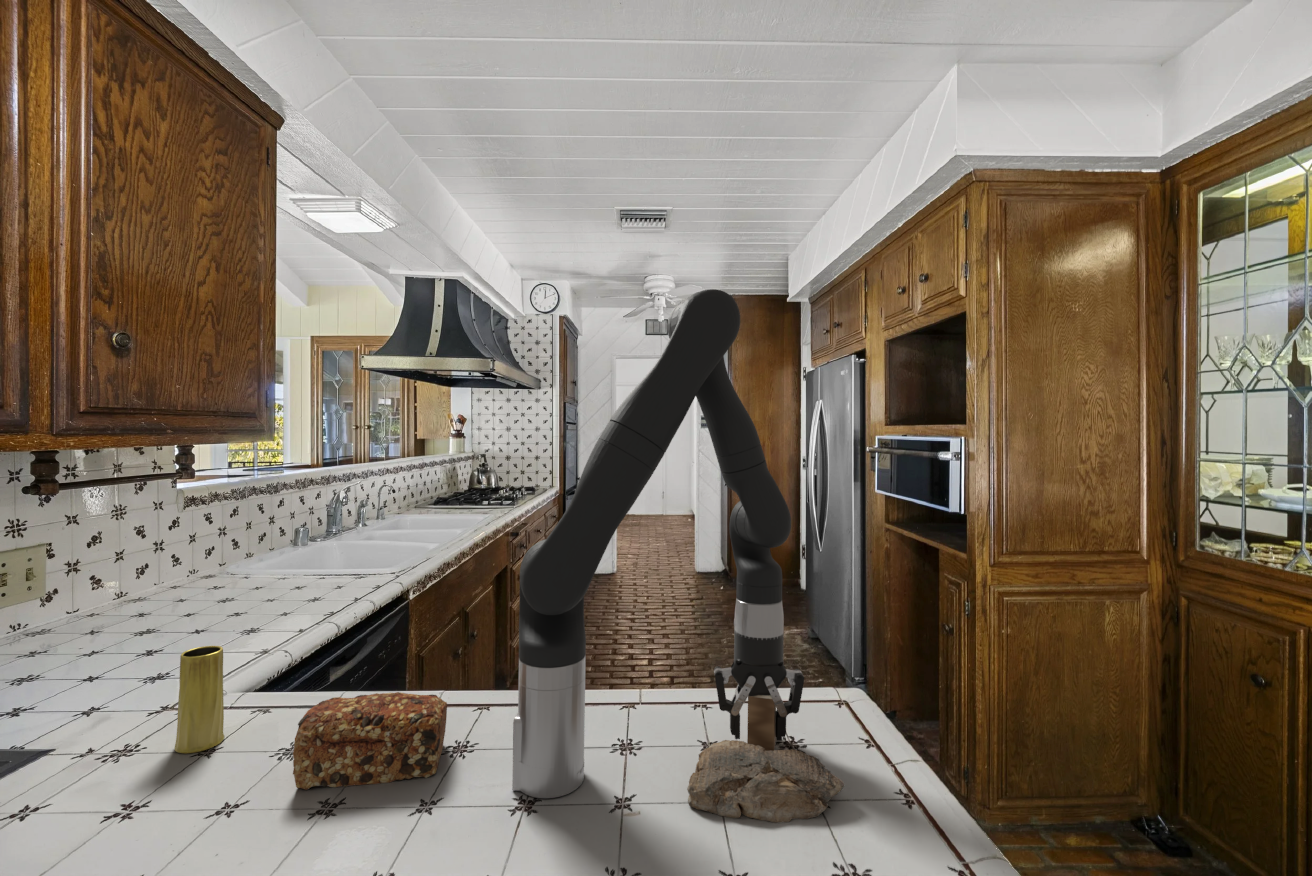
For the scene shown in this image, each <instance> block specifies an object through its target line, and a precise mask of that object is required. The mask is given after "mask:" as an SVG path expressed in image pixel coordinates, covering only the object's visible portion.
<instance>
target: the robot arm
mask: <svg viewBox="0 0 1312 876" xmlns="http://www.w3.org/2000/svg"><path fill="white" fill-rule="evenodd" d="M740 326H741V312H740V308H739V306H738V303H737V302H736V300H735V299H734V297H733V296H732V295H731V294H730V293H728V292H726V291H724V290H721V289H713V288H711V289H704V290H701V291H698V292H695V293H693V294H691V295H689V296H688V297H687V298H685V299H684V300H682V301H680V302H679V303H678V304H677V305H676V306H674V308H673V309H672V311H671V312H670V314H669V317H668V319H667V324H666V329H667V330H666V331H667V336H668V338H669V340H668V342H667V344H666V346H665V348H664V349H663V352H662V353H661V355H660V357H659V358H658V360H657V361H656V362H655V364H654V365H653V366H652V368H651V369H650V371H649V372H648V373H647V374H646V375H645V376H644V377H643V378H642V379H641V381H640V382H639V383H638V384H637V385H636V386H635V387H634V388H633V390H632V391H631V392H630V393H629V394H628V395H627V396H626V397H625V399H624V400H623V402H621V404H620V406H618V408H617V409H616V410H615V412H614V413H613V415H612V416H611V417H610V419H609V421H608V423H607V425H606V426H605V427H604V429H603V431H602V432H601V434H600V435H599V438H598V439H597V441H596V443H595V444H594V447H593V448H592V451H591V453H590V455H589V456H588V458H587V461H586V464H585V466H584V468H583V471H582V473H581V476H580V478H579V481H578V482H577V483H578V484H577V486H576V488H575V491H574V495H572V498H571V501H570V503H569V505H568V506H567V509H566V510H565V511H564V513H563V515H562V516H561V518H560V519H559V521H558V522H557V524H556V525H555V527H554V528H553V529H552V531H551V532H550V534H549V535H548V536H547V538H545V539H542V540H539V541H538V542H536V543H534V545H532V546H531V547H530V548H529V549H528V550H527V552H526V553H525V554H524V556H523V558H522V560H521V563H520V568H519V606H518V607H519V608H518V609H519V611H518V613H519V615H518V616H519V617H518V619H519V620H518V695H517V696H518V698H517V701H518V702H517V713H516V715H515V717H514V718H513V723H512V725H513V727H512V729H513V733H512V780H511V781H512V784H511V786H512V788H511V789H512V791H518V792H522V793H523V794H524V795H526V796H530V797H532V798H537V799H554V798H559V797H564V796H566V795H568V794H570V793H572V792H574V791H575V790H577V789H578V788H579V787H580V786H581V785H582V783H583V781H584V777H585V731H586V730H585V728H586V726H585V719H586V714H585V713H586V661H587V660H586V652H587V651H586V650H587V649H586V648H587V646H586V644H587V642H586V641H587V639H586V637H587V635H586V628H585V607H584V606H585V595H586V593H587V592H588V589H589V588H590V585H591V583H592V580H593V578H594V576H595V573H596V571H597V569H598V567H599V564H600V562H602V561H601V560H602V559H603V556H604V554H605V552H606V550H607V547H608V546H609V544H610V541H611V540H612V537H614V534H615V532H616V531H617V529H618V528H619V526H620V524H621V523H622V522H623V520H624V518H625V517H626V516H627V515H628V513H629V511H630V510H631V508H632V507H633V505H634V504H635V503H636V500H637V499H638V498H639V496H640V495H641V492H642V491H643V490H644V488H645V486H646V485H647V484H648V482H649V480H650V479H651V478H652V476H653V474H654V473H655V470H656V469H657V467H658V466H659V464H660V462H661V461H662V459H663V457H664V456H665V454H666V452H667V450H668V448H669V446H670V444H671V443H672V440H673V439H674V437H675V436H676V434H677V432H678V430H679V428H680V426H681V425H682V423H683V421H684V420H685V417H686V415H687V414H688V412H689V409H690V408H691V406H692V404H693V403H694V400H695V398H696V400H697V402H698V404H699V408H700V410H701V412H702V413H701V414H702V415H703V418H704V421H705V423H706V426H707V430H708V433H709V436H710V439H711V443H712V446H713V450H714V453H715V456H716V459H717V463H718V466H719V470H720V472H721V475H722V478H723V481H724V483H725V485H726V486H727V487H728V488H729V489H730V490H731V491H733V492H734V493H735V494H736V495H737V496H738V499H739V501H737V503H736V504H735V505H734V507H733V509H732V510H731V513H730V518H729V538H730V544H731V548H732V554H733V560H734V564H735V567H736V568H735V569H736V592H735V593H736V597H735V598H736V599H735V608H734V619H733V627H734V629H733V630H734V632H733V633H734V634H733V635H734V636H733V637H734V642H733V647H734V648H733V662H732V664H731V666H729V667H725V668H722V667H721V666H717V665H716V666H715V667H714V668H713V673H714V680H715V686H716V694H717V700H718V701H717V702H718V706H719V710H720V711H722V712H727V713H729V729H730V733H731V735H732V736H734V740H740V739H741V714H740V712H741V709H742V708H743V705H744V704H745V703H746V702H747V700H748V695H749V696H757V695H760V696H761V695H768V696H769V695H771V697H772V699H773V701H774V704H775V706H776V711H775V736H776V739H775V740H776V741H778V742H781V741H782V740H783V738H784V737H786V735H787V717H788V715H790V714H792V713H793V714H797V713H799V712H800V706H801V701H802V694H803V688H804V683H805V676H804V674H803V672H802V671H801V669H799V668H795V669H789V668H786V667H785V665H784V642H785V641H784V637H785V636H784V635H785V634H784V630H785V629H784V628H785V627H784V626H785V625H784V624H785V623H784V620H785V618H784V617H785V616H784V607H783V570H782V567H781V566H780V564H779V563H778V562H777V561H776V560H775V559H774V558H773V556H772V553H771V549H773V548H777V547H780V546H783V544H784V543H785V542H786V541H787V540H788V538H789V536H790V534H791V530H792V518H791V513H790V509H789V507H788V503H787V502H786V499H785V497H784V496H783V494H782V492H781V489H780V488H779V486H778V484H777V483H776V480H775V479H774V477H773V476H772V474H771V473H770V471H769V468H768V464H767V460H766V457H765V453H764V450H763V447H762V444H761V440H760V437H759V433H758V431H757V428H756V426H755V424H754V421H753V419H752V418H751V416H750V414H749V412H748V411H747V408H746V407H745V405H744V403H743V402H742V400H741V399H740V397H739V395H738V393H737V391H736V389H735V388H734V385H733V382H732V381H731V379H730V377H729V373H728V371H727V367H726V363H725V357H724V356H725V355H726V354H727V352H728V350H730V348H731V346H732V345H733V344H734V342H735V341H736V339H737V337H738V334H739V331H740V328H741V327H740ZM731 676H732V677H733V679H734V681H736V683H737V685H736V688H735V691H734V694H733V696H732V699H727V695H726V689H725V684H728V682H729V678H730V677H731ZM786 678H787V682H788V683H789V686H790V689H789V696H788V700H787V701H785V702H784V701H783V700H782V697H781V695H780V692H779V690H778V688H779V687H780V686H781V684H782V683H783V682H784V680H785V679H786Z"/></svg>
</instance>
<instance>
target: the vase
mask: <svg viewBox="0 0 1312 876" xmlns="http://www.w3.org/2000/svg"><path fill="white" fill-rule="evenodd" d="M179 658H180V659H179V660H180V662H179V690H178V702H177V703H178V704H177V706H178V707H177V722H176V724H177V727H176V736H175V737H176V738H175V744H174V751H175V752H176V753H177V754H178V753H179V754H186V755H187V754H195V753H201V752H205V751H207V750H209V749H210V750H211V749H212V748H214V746H215V747H216V746H218V745H220V744H221V743H222V742H223V741H224V739H225V734H224V720H225V719H224V717H225V716H224V715H225V714H224V713H225V712H224V711H225V710H224V708H225V707H224V648H223V647H222V646H221V645H205V646H199V647H194V648H190V649H188V650H187V649H186V650H185V651H183V652H182V653H181V654H180V657H179Z"/></svg>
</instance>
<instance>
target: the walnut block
mask: <svg viewBox="0 0 1312 876" xmlns="http://www.w3.org/2000/svg"><path fill="white" fill-rule="evenodd" d="M775 711H777V708H776V706H775V704H774V701H773V699H772V697H771V695H769V696H768V695H761V696H760V695H757V696H749V695H748V697H747V742H746V743H748V744H753V745H755V746H756V745H759V746H761V747H763V748H764V749H765V750H766V751H775V750H776V749H775V747H776V740H777V739H776V736H775Z"/></svg>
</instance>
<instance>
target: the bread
mask: <svg viewBox="0 0 1312 876" xmlns="http://www.w3.org/2000/svg"><path fill="white" fill-rule="evenodd" d="M447 710H448V703H447V701H444V700H443V699H442V698H441V697H439V696H438V695H437V694H416V693H405V692H400V691H397V692H387V693H386V692H385V693H384V692H383V693H378V692H377V693H373V694H360V695H356V696H355V697H341V696H339V697H338V696H337V697H331V698H329V699H326V700H322V701H320V702H318V703H316V704H315V705H313V706H312V707H311V708H310V709H307V711H306V712H305V714H304V715H303V717H302V718H301V719H300V721H299V722H298V723H297V726H298V728H297V731H296V735H295V737H294V743H293V752H292V758H293V761H292V765H293V770H292V775H293V777H294V782H295V787H296V789H303V790H304V791H307V790H310V788H312V787H323V788H327V787H329V788H341V787H344V788H346V787H349V786H363V785H377V784H378V785H379V784H386V783H387V784H388V783H389V784H390V783H392V782H396V781H402V780H405V779H407V780H410V779H413V778H421V777H423V778H425V779H427V778H429V777H432V776H433V775H435V774H437V770H438V768H439V763H440V758H441V754H442V753H443V747H444V741H445V737H446V726H447V715H448V714H447V712H448V711H447Z"/></svg>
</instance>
